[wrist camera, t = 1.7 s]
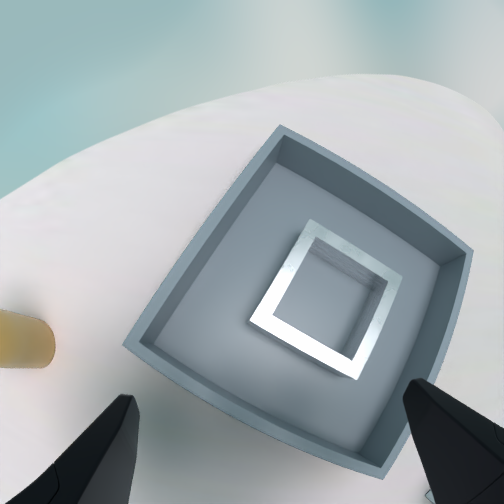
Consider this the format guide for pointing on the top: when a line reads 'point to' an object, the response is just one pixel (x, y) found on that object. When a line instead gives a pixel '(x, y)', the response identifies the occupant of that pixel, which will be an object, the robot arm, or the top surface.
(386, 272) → the socket
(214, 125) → the top surface
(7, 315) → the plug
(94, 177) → the top surface
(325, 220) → the bin
